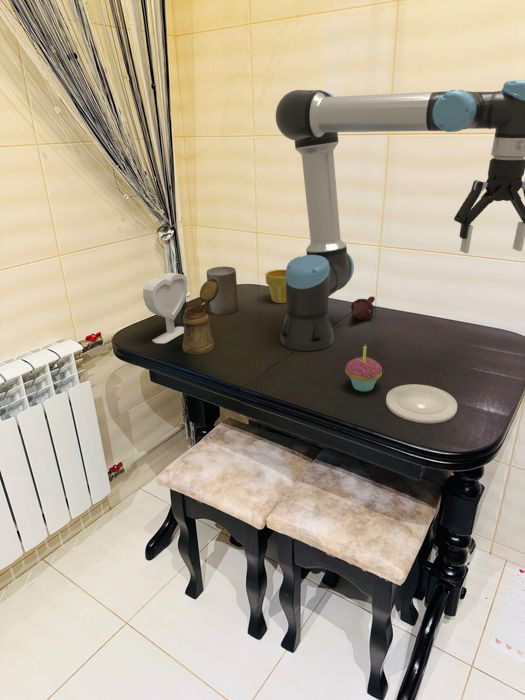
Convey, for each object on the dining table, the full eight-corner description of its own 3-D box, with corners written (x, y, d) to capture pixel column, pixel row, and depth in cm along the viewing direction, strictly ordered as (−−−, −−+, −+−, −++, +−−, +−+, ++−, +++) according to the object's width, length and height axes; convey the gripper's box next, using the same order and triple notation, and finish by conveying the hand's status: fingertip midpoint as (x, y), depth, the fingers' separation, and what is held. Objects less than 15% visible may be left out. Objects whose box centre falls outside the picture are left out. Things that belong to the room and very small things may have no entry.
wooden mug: (230, 339, 147) (227, 280, 139) (200, 357, 137) (194, 294, 129) (207, 333, 152) (202, 275, 144) (175, 350, 142) (169, 288, 134)
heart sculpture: (160, 345, 144) (153, 285, 137) (147, 342, 147) (139, 283, 139) (193, 327, 157) (188, 270, 149) (180, 324, 159) (174, 268, 151)
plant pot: (267, 295, 182) (267, 268, 178) (296, 295, 181) (296, 268, 177) (265, 305, 173) (264, 277, 169) (295, 305, 172) (295, 277, 168)
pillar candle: (241, 305, 173) (239, 262, 167) (233, 315, 164) (230, 270, 158) (214, 304, 175) (211, 262, 169) (205, 314, 167) (201, 270, 160)
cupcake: (381, 397, 115) (384, 349, 110) (343, 394, 117) (345, 347, 112) (380, 379, 123) (384, 334, 118) (345, 376, 125) (347, 332, 119)
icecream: (367, 309, 148) (385, 299, 160) (345, 299, 151) (364, 289, 163) (359, 330, 152) (378, 318, 164) (338, 320, 155) (357, 309, 166)
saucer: (378, 414, 109) (378, 409, 108) (394, 383, 121) (394, 378, 120) (451, 430, 103) (452, 425, 102) (460, 395, 115) (461, 391, 114)
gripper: (463, 160, 109) (448, 256, 118) (571, 158, 112) (548, 252, 121) (448, 157, 116) (435, 248, 125) (550, 155, 118) (529, 245, 128)
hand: (490, 251), depth 123 cm, fingers open, 13 cm apart
